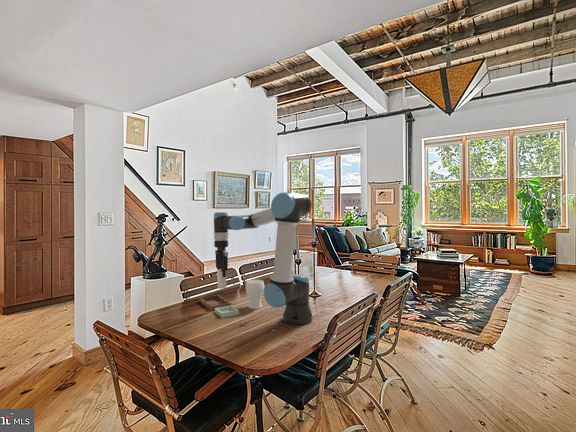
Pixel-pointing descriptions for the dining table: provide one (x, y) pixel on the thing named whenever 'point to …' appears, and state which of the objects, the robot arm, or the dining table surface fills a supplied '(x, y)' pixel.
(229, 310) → the dish
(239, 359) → the dining table surface
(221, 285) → the white rounded cylinder
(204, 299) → the tray
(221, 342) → the dining table surface
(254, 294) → the cup
